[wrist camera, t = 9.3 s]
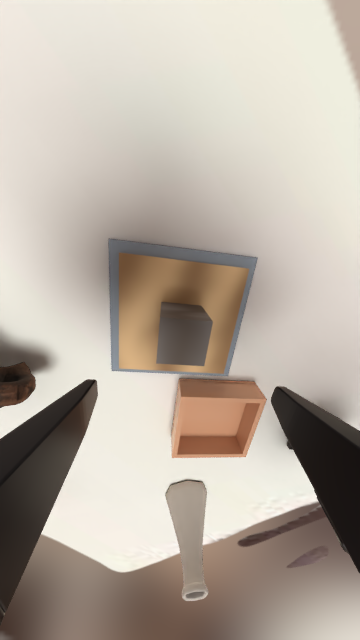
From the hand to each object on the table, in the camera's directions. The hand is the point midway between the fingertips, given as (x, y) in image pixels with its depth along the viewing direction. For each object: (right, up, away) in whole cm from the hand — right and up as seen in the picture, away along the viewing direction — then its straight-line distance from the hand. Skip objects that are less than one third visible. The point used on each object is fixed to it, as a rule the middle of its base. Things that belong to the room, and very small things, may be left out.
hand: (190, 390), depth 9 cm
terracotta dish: (+4, -9, +15) cm, 18 cm away
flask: (+1, -27, +22) cm, 34 cm away
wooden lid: (-1, +3, +10) cm, 11 cm away
